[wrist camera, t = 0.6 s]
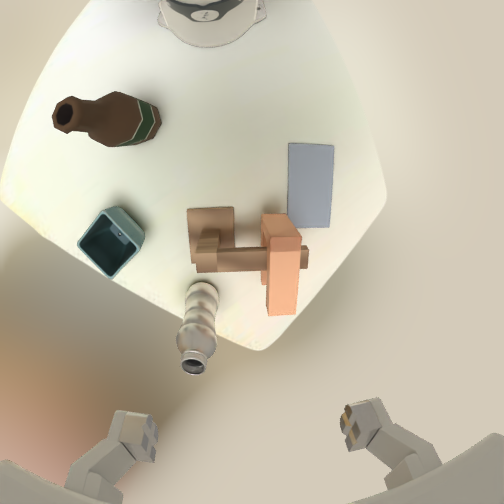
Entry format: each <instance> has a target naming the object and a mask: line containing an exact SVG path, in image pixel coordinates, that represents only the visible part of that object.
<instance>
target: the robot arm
mask: <svg viewBox="0 0 504 504" xmlns="http://www.w3.org/2000/svg"><path fill="white" fill-rule="evenodd" d="M159 7H160V10H161V11H160V14H159V16H158V24H159V25H160V26H162V27H165V28H167V29H170V30H171V31H172V32H173V33H174V34H175V35H176V36H177V37H178V38H179V39H180V40H182V41H183V42H185V43H187V44H190V45H193V46H197V47H216V46H221V45H225V44H228V43H230V42H232V41H234V40H236V39H238V38H239V37H241V36H242V35H243V34H244V33H245V32H246V31H247V30H248V29H249V28H250V27H251V26H252V25H253V24H255V23H257V22H259V21H261V20H263V19H264V18H265V17H266V10H265V6H264V3H263V0H161V2H159ZM257 8H259V9H260V10H257ZM344 410H345V413H343V414H342V415H341V418H340V427H341V430H342V433H343V434H345V435H346V436H347V437H346V439H345V442H346V445H347V448H348V451H349V452H351V451H355V450H359V449H363V448H366V449H367V450H368V451H369V452H371V453H372V454H373V455H374V456H376V457H377V458H378V459H379V460H381V461H382V462H383V463H385V464H386V465H387V466H388V467H390V468H391V469H392V471H391V472H390V473H389V474H388V475H387V476H386V477H385V478H384V480H385V483H386V486H387V489H388V490H387V491H385V492H382V493H380V494H376V495H374V496H371V497H368V498H365V499H361V500H358V501H355V502H352V503H348V504H504V436H503V435H500V434H497V433H492V434H490V435H488V436H487V437H485V438H484V439H483V440H481V441H480V442H478V443H477V444H475V445H474V446H472V447H471V448H470V449H468V450H466V451H465V452H463V453H462V454H460V455H458V456H457V457H455V458H453V459H452V460H450V461H448V462H447V463H445V464H443V465H442V463H441V461H440V459H439V457H438V455H437V453H436V451H435V449H434V447H433V445H432V444H431V443H429V442H427V441H425V440H424V439H422V438H420V437H418V436H417V435H415V434H413V433H411V432H410V431H408V430H406V429H404V428H403V427H401V426H399V425H398V424H396V423H395V424H393V423H392V421H391V419H390V417H389V415H388V413H387V411H386V409H385V407H384V405H383V403H382V401H381V399H380V398H379V397H378V398H377V397H376V398H372V399H369V400H364V401H360V402H356V403H352V404H347V405H346V406H345V408H344ZM152 421H153V418H152V416H151V415H150V414H142V413H134V412H128V411H121V410H117V411H116V412H115V414H114V417H113V420H112V423H111V427H110V430H109V433H108V437H107V439H103V440H102V441H100V442H99V443H98V444H97V445H96V446H94V447H93V448H92V449H90V450H89V451H88V452H87V453H85V454H84V455H83V456H81V457H80V458H79V459H78V460H76V461H75V462H74V463H72V464H71V466H70V470H69V473H68V477H67V480H66V483H65V487H62V486H59V485H57V484H55V483H52V482H50V481H48V480H46V479H44V478H42V477H40V476H38V475H36V474H34V473H32V472H30V471H28V470H26V469H24V468H23V467H21V466H19V465H17V464H16V463H14V462H12V461H10V460H3V461H0V504H122V500H123V493H122V492H121V491H119V490H118V489H117V488H116V487H114V485H115V484H116V482H118V481H119V480H120V478H121V477H122V476H123V475H124V474H125V473H126V472H127V471H128V470H129V469H130V468H131V466H133V464H134V463H135V462H136V460H137V461H144V462H152V463H154V461H155V454H156V450H155V448H154V447H153V446H154V445H155V444H156V443H157V442H158V429H157V426H156V424H155V423H153V422H152Z"/></svg>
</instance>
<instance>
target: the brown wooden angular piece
mask: <svg viewBox="0 0 504 504" xmlns="http://www.w3.org/2000/svg"><path fill="white" fill-rule="evenodd" d="M187 221H188V232H189V243H190V253H191V262H192V263H196V270H197V273H208V272H238V271H264V270H267V247H242V248H234V216H233V207H223V208H199V209H187ZM308 256H309V249H308V247H307V246H306V245H303V246H301V256H300V269H307V268H308Z"/></svg>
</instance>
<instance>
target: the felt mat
mask: <svg viewBox="0 0 504 504" xmlns="http://www.w3.org/2000/svg"><path fill="white" fill-rule="evenodd" d="M333 165H334V146H329V145H314V144H294V143H289V154H288V204H287V216H288V218H289V219H290V221H291V222H292V223H293V225H294V226H295V228H324V227H330V215H331V201H332V185H333Z"/></svg>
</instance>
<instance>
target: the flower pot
mask: <svg viewBox="0 0 504 504" xmlns="http://www.w3.org/2000/svg"><path fill="white" fill-rule="evenodd" d="M119 233H120V234H121V235H119ZM144 240H145V233H144V231H143V230H142V229H141V228H140V227H139V226H138V225H137V223H136V222H135V221H134V220H133V219H132V218H131V217H130V216H129V215H128V214H127V213H126V212H125V211H124V210H123V209H122V208H120V207H117V206H115V207H111V208H108V209H105V210H102V211H101V212H100V213H99V215H98V216H97V217H96V218H95V220H94V221H93V222H92V224H91V225H90V226H89V228H88V229H87V230H86V232H85V233H84V234H83V236H82V237H81V238H80V240H79V241H78V242H77V246H78V248H79V249H80V250H81V251H82V252H83V253H84V254H85V255H86V256H87V257H88V258H89V259H90V260H91V261H92V262H93V263H94V264H95V265H96V266H97V267H98V268H99V269H100V270H101V271H102V272H103V273H104V274H105V275H106V276H107V277H108V278H109V279H113V278H114V277H115V276H116V275H117V274H118V273H119V272H120V270H121V269H122V268H123V267H124V266H125V265H126V264H127V263H128V262H129V261H130V260H131V259H132V258H133V257H134V256H135V255H136V254H137V253H138V252H139V251H140V249H141V246H142V244H143V242H144Z"/></svg>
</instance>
